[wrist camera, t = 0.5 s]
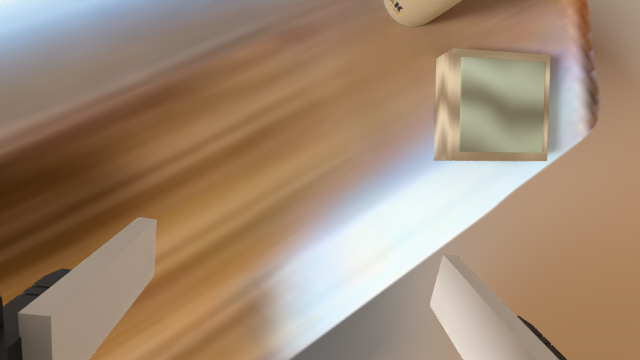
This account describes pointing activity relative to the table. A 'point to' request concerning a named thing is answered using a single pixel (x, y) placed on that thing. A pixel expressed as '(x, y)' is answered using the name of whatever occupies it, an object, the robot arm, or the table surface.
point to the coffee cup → (417, 10)
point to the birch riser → (491, 106)
